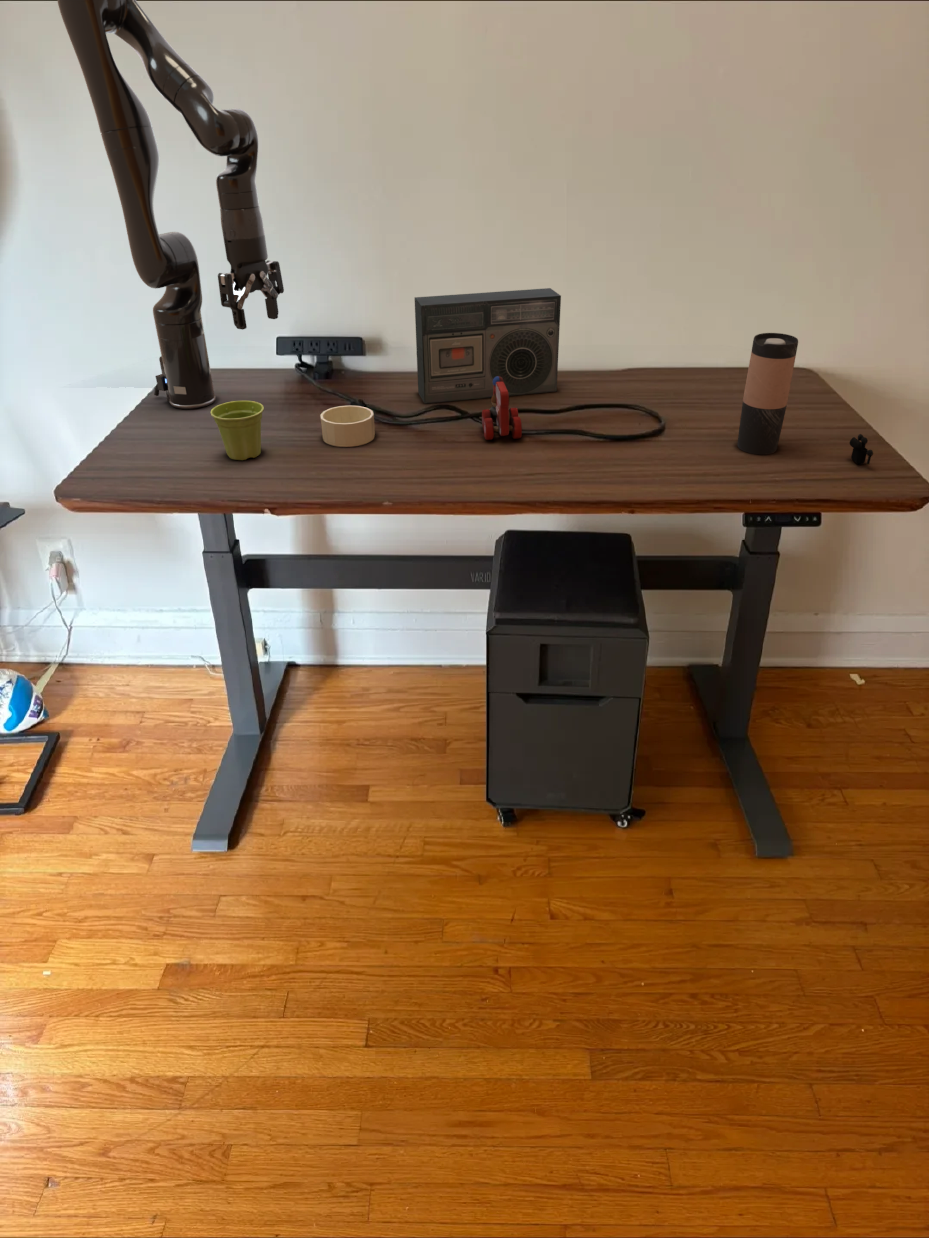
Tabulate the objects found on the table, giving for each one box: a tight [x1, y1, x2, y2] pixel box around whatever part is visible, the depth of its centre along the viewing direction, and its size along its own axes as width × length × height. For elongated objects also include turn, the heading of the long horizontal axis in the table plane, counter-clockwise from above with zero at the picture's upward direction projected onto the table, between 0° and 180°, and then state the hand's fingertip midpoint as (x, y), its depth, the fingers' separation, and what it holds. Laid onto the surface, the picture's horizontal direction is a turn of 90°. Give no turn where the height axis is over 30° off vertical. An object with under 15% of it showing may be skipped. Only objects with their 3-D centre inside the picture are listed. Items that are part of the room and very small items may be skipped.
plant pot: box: [209, 400, 265, 461], centre depth 164 cm, size 9×9×9 cm
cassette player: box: [414, 287, 562, 405], centre depth 188 cm, size 29×7×20 cm, turn 104°
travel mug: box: [736, 332, 799, 455], centre depth 161 cm, size 8×8×20 cm
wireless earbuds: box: [849, 433, 874, 466], centre depth 158 cm, size 7×2×5 cm, turn 8°
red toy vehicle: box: [481, 376, 523, 441], centre depth 171 cm, size 7×12×10 cm, turn 4°
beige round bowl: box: [319, 405, 376, 448], centre depth 172 cm, size 10×10×4 cm
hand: (257, 323), depth 174 cm, fingers open, 8 cm apart
